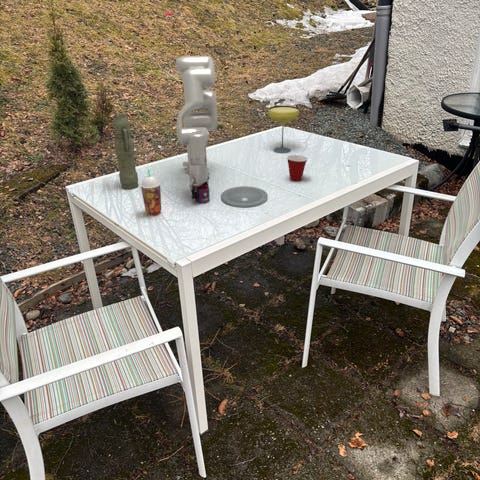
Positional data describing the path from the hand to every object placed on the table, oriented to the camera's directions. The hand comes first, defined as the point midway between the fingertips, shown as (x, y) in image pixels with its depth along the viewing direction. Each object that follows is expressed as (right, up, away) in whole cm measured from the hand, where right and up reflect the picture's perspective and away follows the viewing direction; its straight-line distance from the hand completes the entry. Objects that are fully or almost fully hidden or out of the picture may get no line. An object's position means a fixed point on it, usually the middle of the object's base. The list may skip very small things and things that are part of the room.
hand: (200, 195), depth 205 cm
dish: (+21, -1, +2) cm, 21 cm away
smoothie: (-20, -9, -11) cm, 24 cm away
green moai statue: (-37, +6, +16) cm, 41 cm away
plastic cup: (+48, +10, +22) cm, 54 cm away
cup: (0, -2, +1) cm, 3 cm away
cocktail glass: (+44, +34, +64) cm, 85 cm away
